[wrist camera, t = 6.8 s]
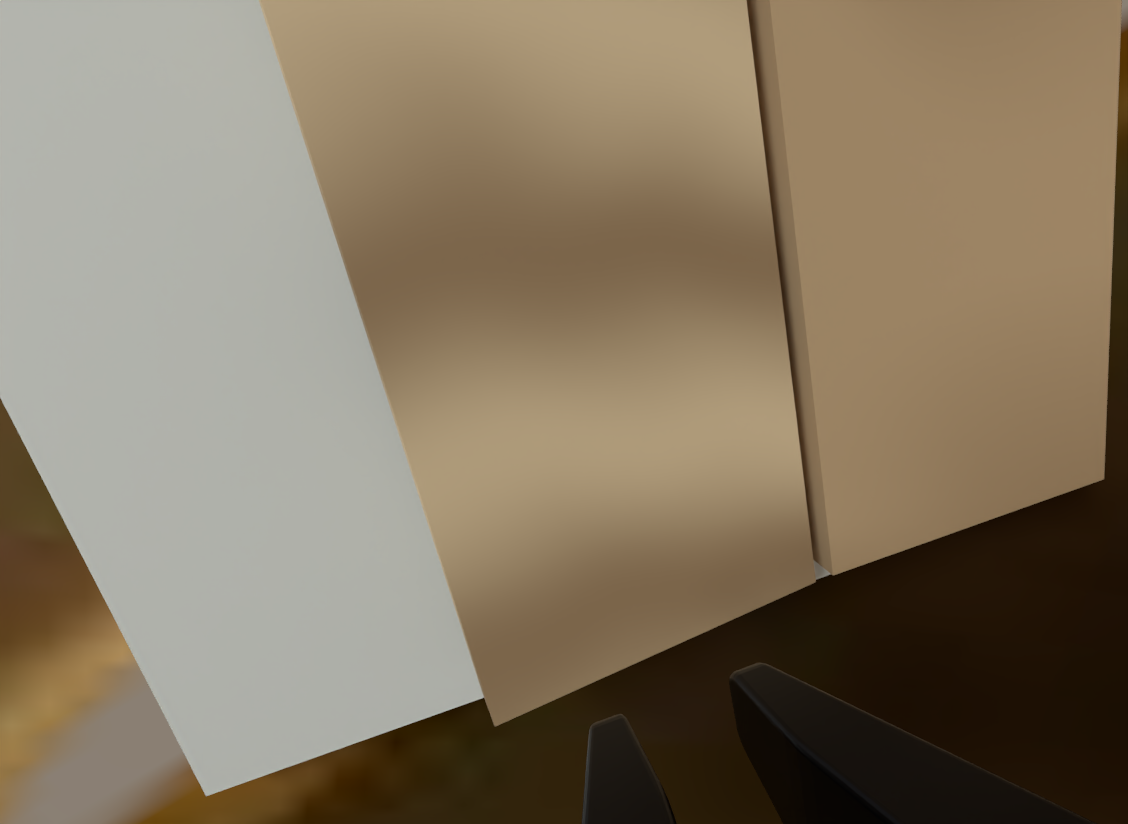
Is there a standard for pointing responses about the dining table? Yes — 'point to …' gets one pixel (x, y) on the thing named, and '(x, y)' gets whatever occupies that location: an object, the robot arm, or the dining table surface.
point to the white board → (352, 381)
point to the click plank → (566, 311)
